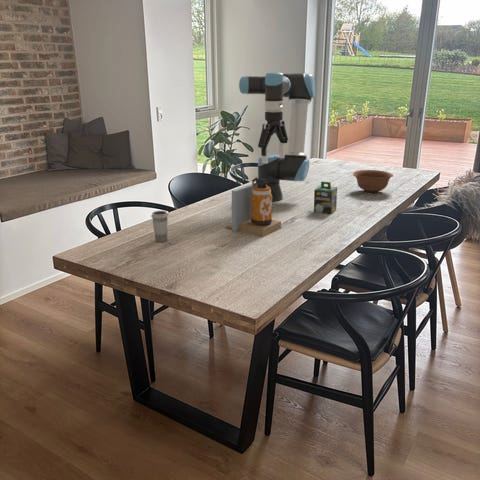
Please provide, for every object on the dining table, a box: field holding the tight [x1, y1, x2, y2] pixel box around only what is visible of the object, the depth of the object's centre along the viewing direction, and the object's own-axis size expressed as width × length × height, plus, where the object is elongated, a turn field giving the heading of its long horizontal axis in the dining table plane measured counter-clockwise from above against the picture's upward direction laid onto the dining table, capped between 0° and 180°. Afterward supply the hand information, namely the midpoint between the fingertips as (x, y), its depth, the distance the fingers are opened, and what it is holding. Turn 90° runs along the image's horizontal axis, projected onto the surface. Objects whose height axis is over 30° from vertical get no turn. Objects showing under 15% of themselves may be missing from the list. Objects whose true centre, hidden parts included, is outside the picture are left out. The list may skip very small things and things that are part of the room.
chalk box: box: [313, 181, 338, 215], centre depth 239 cm, size 9×9×15 cm
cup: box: [150, 210, 169, 243], centre depth 199 cm, size 7×7×12 cm
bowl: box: [352, 169, 394, 195], centre depth 275 cm, size 22×22×11 cm
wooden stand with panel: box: [225, 182, 282, 237], centre depth 216 cm, size 20×24×18 cm
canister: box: [251, 176, 273, 225], centre depth 211 cm, size 9×11×20 cm
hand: (273, 160), depth 216 cm, fingers open, 13 cm apart
